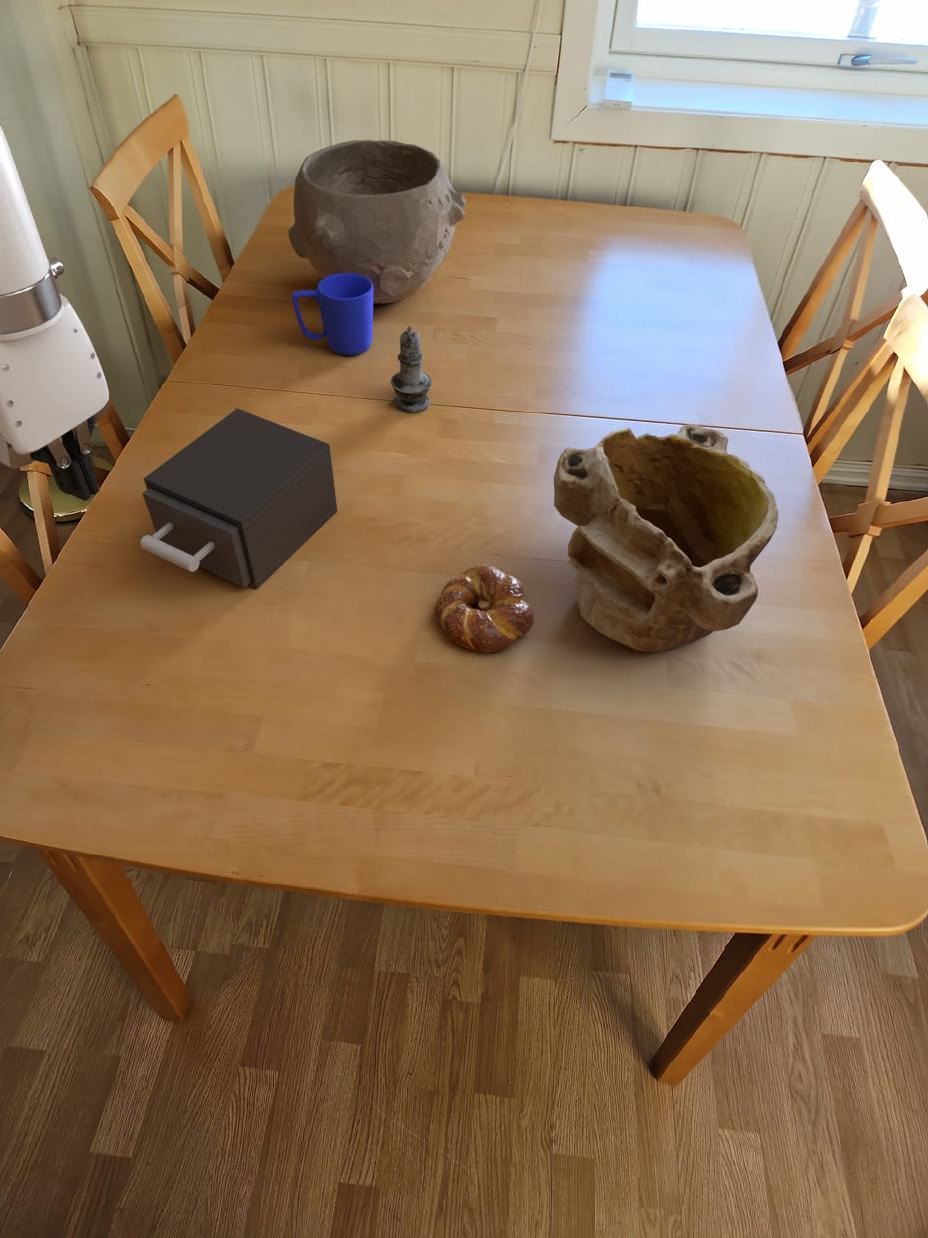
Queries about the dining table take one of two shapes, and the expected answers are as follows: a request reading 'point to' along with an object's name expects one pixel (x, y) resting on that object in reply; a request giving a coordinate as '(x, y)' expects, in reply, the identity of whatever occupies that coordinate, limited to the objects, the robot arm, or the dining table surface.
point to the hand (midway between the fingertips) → (81, 491)
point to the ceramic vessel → (663, 534)
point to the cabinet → (255, 485)
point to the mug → (342, 312)
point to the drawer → (194, 538)
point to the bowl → (375, 214)
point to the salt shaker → (411, 376)
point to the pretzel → (483, 609)
